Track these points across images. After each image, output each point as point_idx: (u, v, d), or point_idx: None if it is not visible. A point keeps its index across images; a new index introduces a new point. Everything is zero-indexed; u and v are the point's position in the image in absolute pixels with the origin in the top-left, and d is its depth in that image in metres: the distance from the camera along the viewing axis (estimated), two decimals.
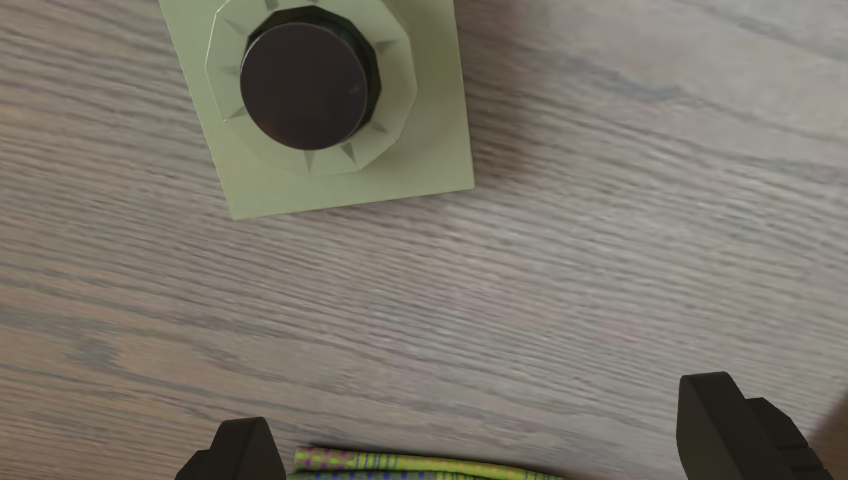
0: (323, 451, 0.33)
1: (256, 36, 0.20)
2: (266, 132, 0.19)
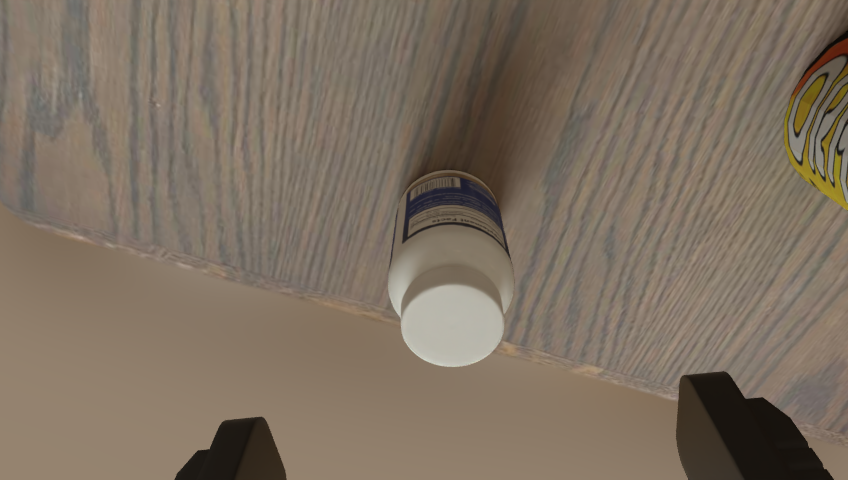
0: None
1: None
2: None
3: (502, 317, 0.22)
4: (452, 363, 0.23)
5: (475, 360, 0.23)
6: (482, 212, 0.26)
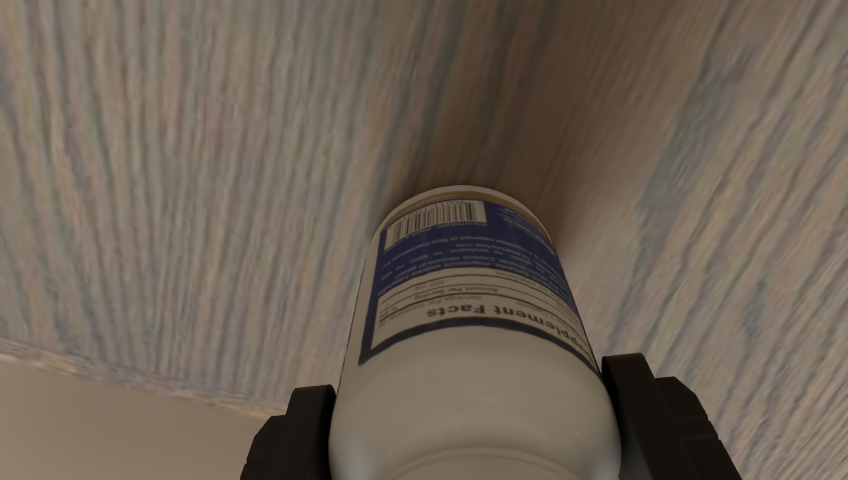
0: None
1: None
2: None
3: None
4: None
5: None
6: (537, 282, 0.12)
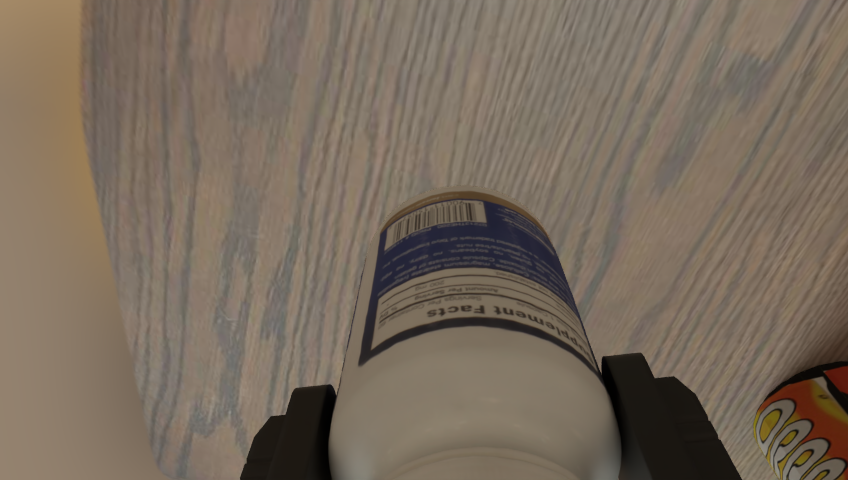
0: None
1: None
2: None
3: None
4: None
5: None
6: (537, 282, 0.12)
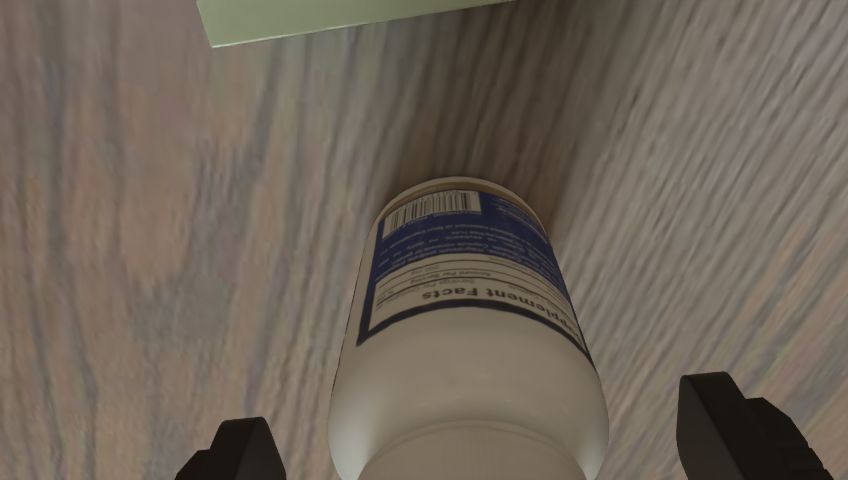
0: None
1: None
2: None
3: None
4: None
5: None
6: (529, 267, 0.12)
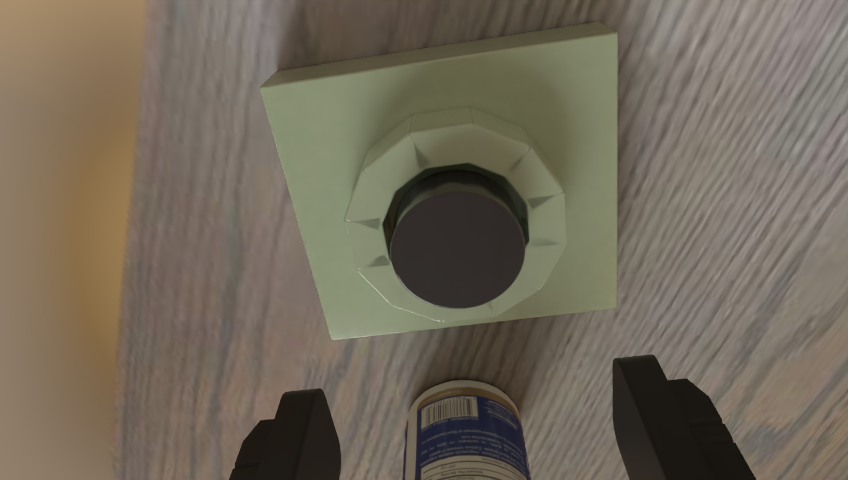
0: None
1: None
2: (501, 292, 0.18)
3: None
4: None
5: None
6: (503, 461, 0.23)
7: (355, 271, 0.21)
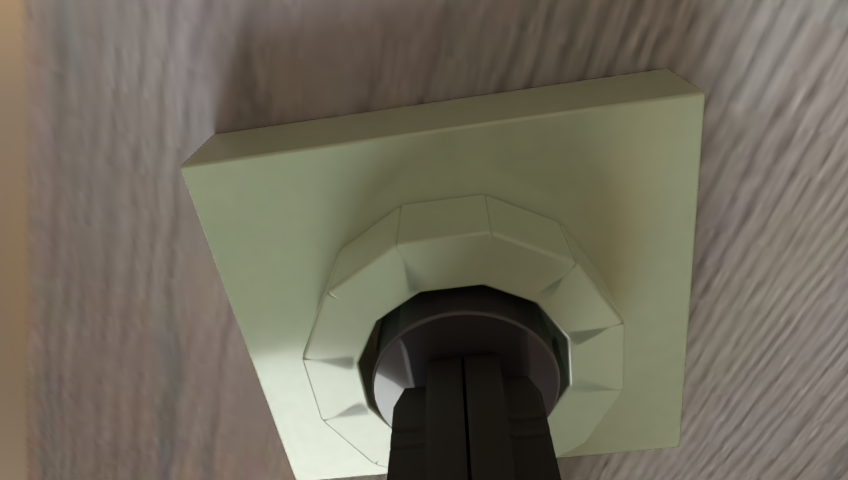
0: None
1: None
2: None
3: None
4: None
5: None
6: None
7: None
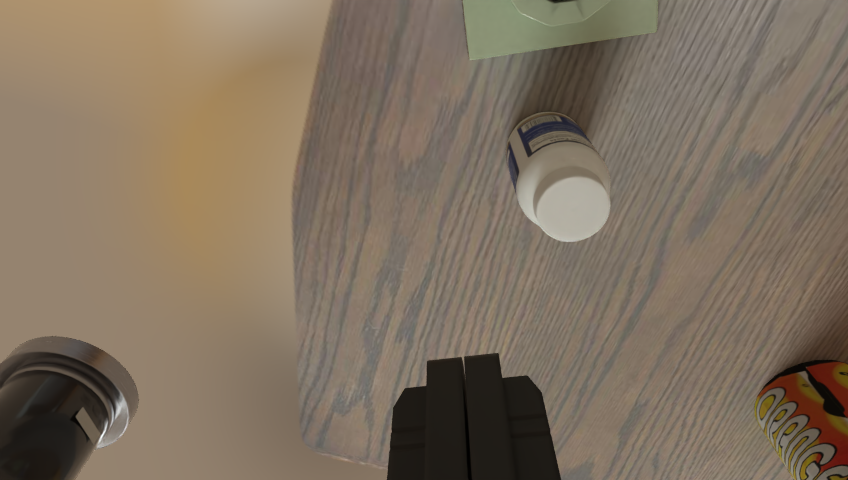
0: None
1: None
2: None
3: (609, 201, 0.31)
4: (570, 238, 0.33)
5: (587, 236, 0.32)
6: (582, 136, 0.35)
7: (491, 3, 0.34)
